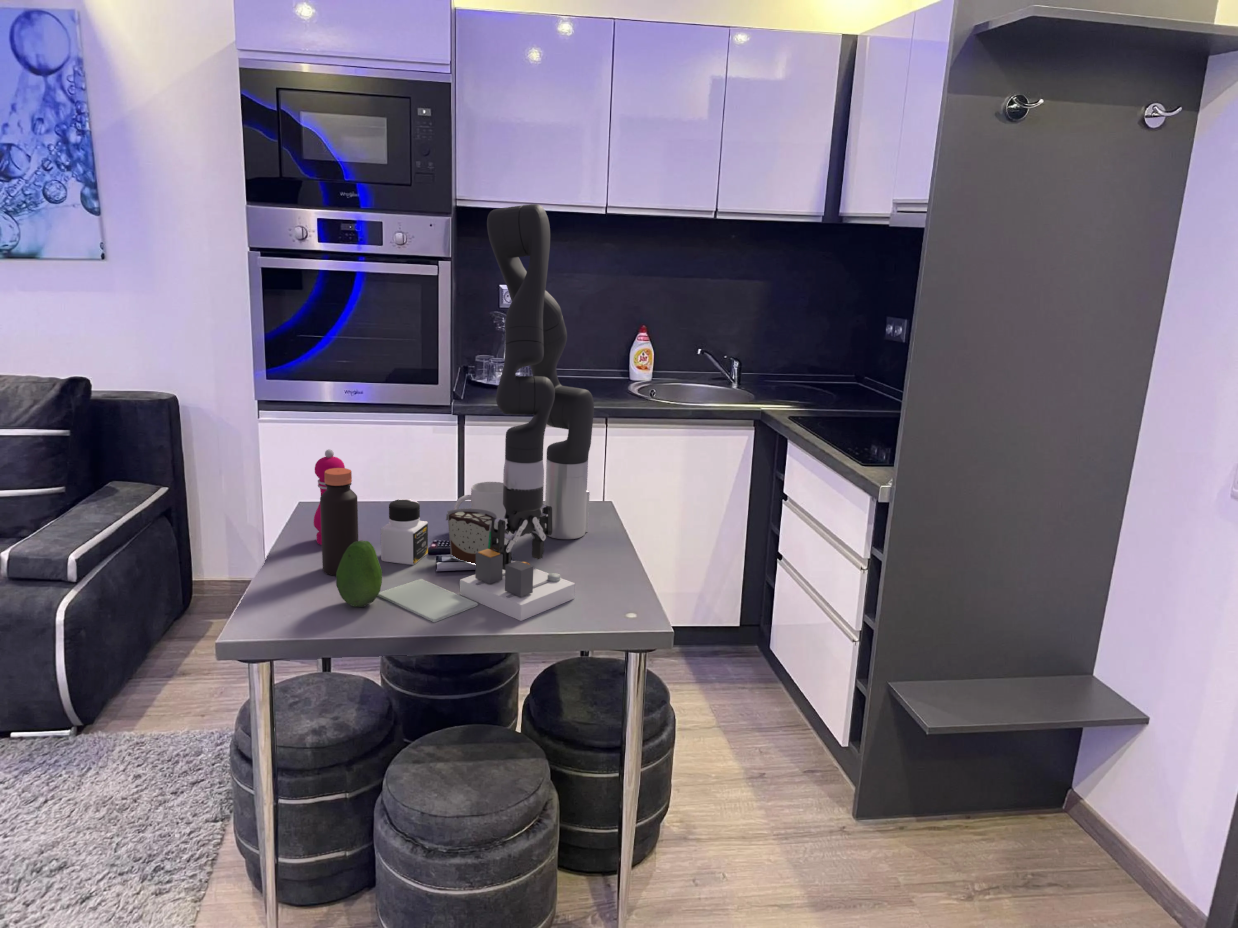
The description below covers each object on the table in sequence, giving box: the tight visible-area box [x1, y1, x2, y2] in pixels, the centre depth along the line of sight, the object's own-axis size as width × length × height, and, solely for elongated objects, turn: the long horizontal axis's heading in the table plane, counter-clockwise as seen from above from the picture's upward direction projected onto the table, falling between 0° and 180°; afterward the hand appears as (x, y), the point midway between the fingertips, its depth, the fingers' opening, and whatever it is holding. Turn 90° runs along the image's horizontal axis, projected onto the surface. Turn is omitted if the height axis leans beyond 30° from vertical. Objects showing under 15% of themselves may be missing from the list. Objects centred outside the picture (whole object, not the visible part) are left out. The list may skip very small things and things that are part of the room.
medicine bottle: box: [380, 498, 429, 566], centre depth 181 cm, size 7×7×12 cm
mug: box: [453, 481, 506, 519], centre depth 200 cm, size 13×9×10 cm
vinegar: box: [319, 467, 359, 577], centre depth 172 cm, size 7×7×20 cm
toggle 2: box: [505, 560, 534, 597], centre depth 160 cm, size 3×4×5 cm
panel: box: [459, 560, 576, 622], centre depth 166 cm, size 14×16×4 cm
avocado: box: [335, 539, 383, 608], centre depth 158 cm, size 8×8×12 cm
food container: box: [445, 507, 497, 564], centre depth 182 cm, size 12×6×10 cm, turn 58°
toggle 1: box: [474, 549, 503, 584], centre depth 165 cm, size 3×4×5 cm
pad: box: [377, 578, 479, 623], centre depth 163 cm, size 10×16×1 cm, turn 51°
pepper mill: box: [313, 449, 346, 546], centre depth 187 cm, size 7×7×20 cm
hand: (521, 563), depth 171 cm, fingers open, 8 cm apart
